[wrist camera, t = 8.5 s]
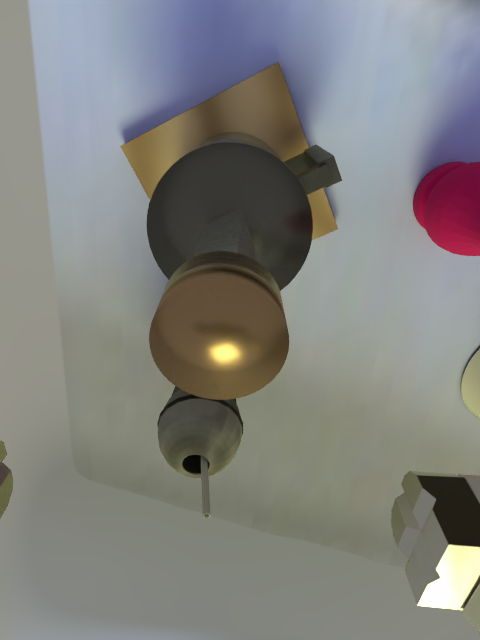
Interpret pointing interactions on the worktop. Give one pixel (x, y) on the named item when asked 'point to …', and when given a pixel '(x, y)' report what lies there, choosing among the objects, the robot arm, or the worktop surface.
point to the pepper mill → (451, 207)
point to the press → (239, 201)
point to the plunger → (221, 317)
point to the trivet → (231, 116)
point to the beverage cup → (199, 436)
